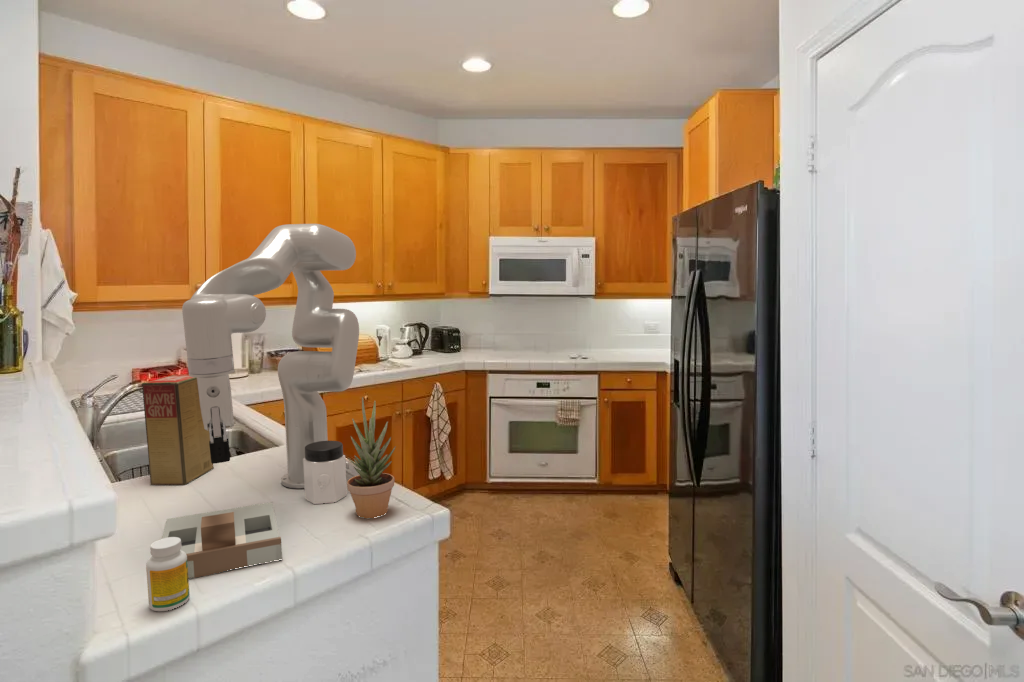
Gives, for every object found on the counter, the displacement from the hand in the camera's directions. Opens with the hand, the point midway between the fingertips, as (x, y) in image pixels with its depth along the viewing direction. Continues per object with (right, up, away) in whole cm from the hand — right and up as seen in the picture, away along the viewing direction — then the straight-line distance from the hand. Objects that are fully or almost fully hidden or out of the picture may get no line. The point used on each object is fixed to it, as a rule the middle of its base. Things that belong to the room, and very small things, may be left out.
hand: (220, 461), depth 112 cm
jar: (+13, -13, +21) cm, 28 cm away
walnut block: (+5, -13, -10) cm, 17 cm away
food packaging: (-28, -12, +37) cm, 48 cm away
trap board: (+2, -15, -3) cm, 15 cm away
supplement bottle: (+3, -17, -22) cm, 28 cm away
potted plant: (+26, -14, +12) cm, 31 cm away
